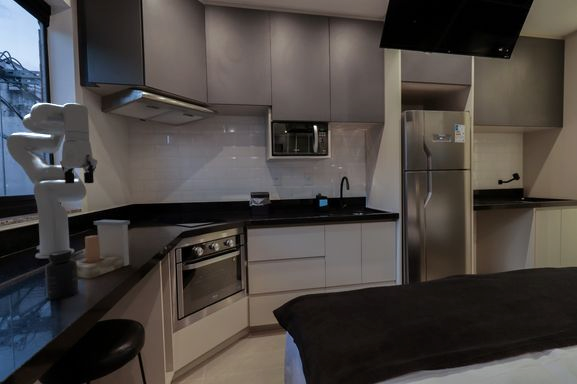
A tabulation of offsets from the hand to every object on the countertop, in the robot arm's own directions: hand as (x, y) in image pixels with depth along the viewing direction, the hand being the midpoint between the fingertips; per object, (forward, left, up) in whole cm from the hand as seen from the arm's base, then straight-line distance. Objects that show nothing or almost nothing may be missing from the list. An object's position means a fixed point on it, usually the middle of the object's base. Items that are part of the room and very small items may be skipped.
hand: (79, 183), depth 107 cm
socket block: (+14, -7, -30) cm, 34 cm away
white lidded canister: (+14, +1, -30) cm, 33 cm away
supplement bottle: (+25, -25, -31) cm, 47 cm away
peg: (+14, -7, -30) cm, 34 cm away
